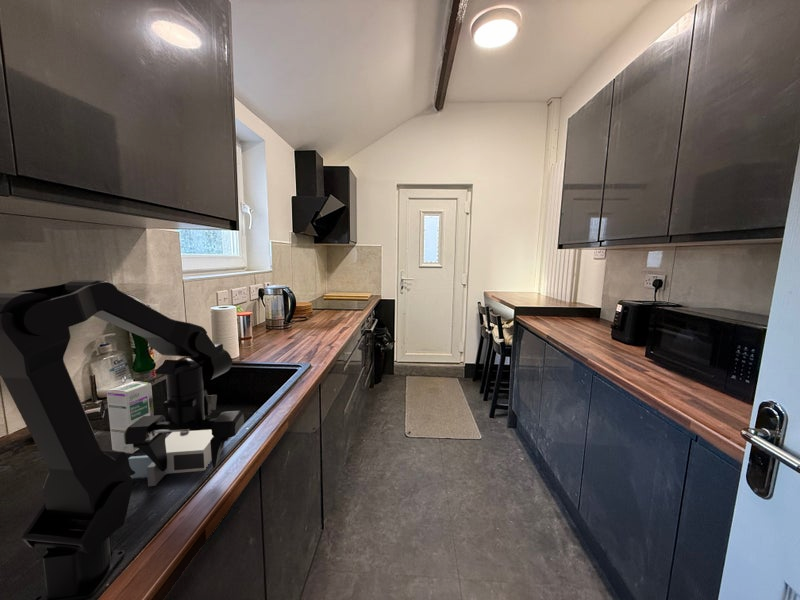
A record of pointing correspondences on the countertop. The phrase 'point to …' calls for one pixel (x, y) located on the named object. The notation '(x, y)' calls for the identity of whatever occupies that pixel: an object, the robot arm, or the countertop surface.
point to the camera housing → (188, 451)
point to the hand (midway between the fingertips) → (190, 468)
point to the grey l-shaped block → (146, 469)
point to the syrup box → (127, 411)
